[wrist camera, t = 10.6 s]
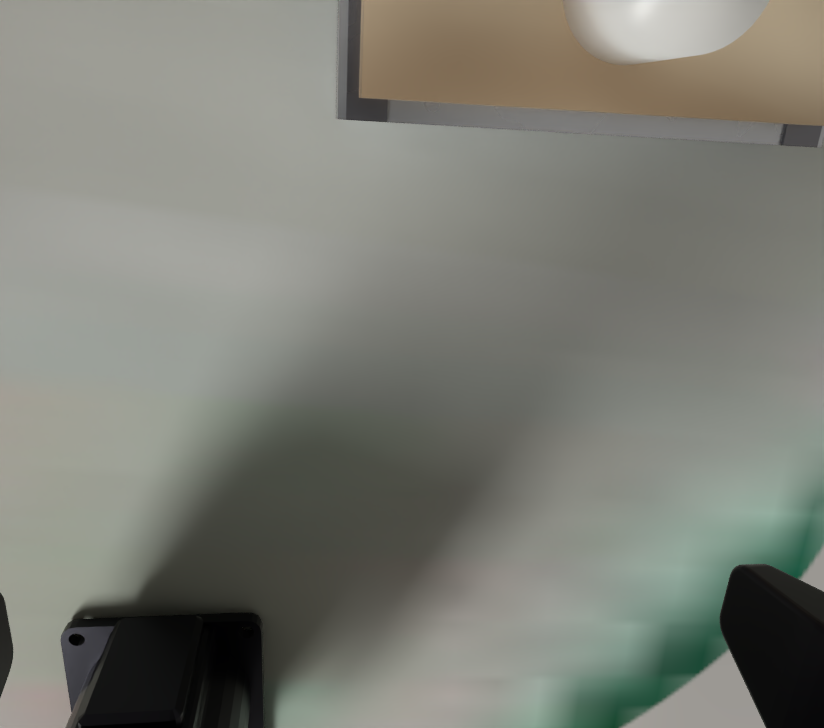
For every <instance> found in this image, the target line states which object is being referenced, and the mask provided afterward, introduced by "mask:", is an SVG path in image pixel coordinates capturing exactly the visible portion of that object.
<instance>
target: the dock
mask: <svg viewBox="0 0 824 728" xmlns="http://www.w3.org/2000/svg"><path fill="white" fill-rule="evenodd" d="M360 35H361V0H338V31H337V89H336V118H337V119H344V120H360V121H377V122H395V123H412V124H429V125H446V126H463V127H480V128H497V129H514V130H531V131H548V132H565V133H582V134H599V135H616V136H633V137H651V138H668V139H685V140H702V141H719V142H736V143H753V144H770V145H786V146H803V147H822V143H823V139H824V126H812V125H796V124H779V123H763V122H747V121H730V120H714V119H698V118H681V117H665V116H649V115H632V114H616V113H600V112H583V111H567V110H551V109H534V108H518V107H502V106H485V105H469V104H453V103H436V102H420V101H404V100H387V99H371V98H359V73H360Z"/></svg>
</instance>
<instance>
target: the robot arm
mask: <svg viewBox="0 0 824 728" xmlns="http://www.w3.org/2000/svg"><path fill="white" fill-rule="evenodd" d="M246 626H247V627H251V628H252V629H251V630H244V629H242V627H246ZM720 627H721V631H722V634H723V637H724V639H725V641H726V643H727V645H728V648H729V650H730V652H731V654H732V656H733V658H734V660H735V662H736V665H737V667H738V669H739V671H740V673H741V675H742V677H743V680H744V682H745V684H746V686H747V688H748V690H749V692H750V695H751V697H752V699H753V701H754V703H755V705H756V707H757V709H758V712H759V714H760V716H761V718H762V720H763V722H764V724H765V726H766V728H824V592H823V591H821V590H819V589H817V588H815V587H813V586H811V585H809V584H807V583H805V582H803V581H801V580H799V579H797V578H795V577H793V576H791V575H789V574H787V573H784V572H782V571H780V570H778V569H776V568H774V567H772V566H770V565H766V564H746V565H738V566H736V567H735V568H734V569H733V570H732V572H731V574H730V578H729V582H728V586H727V589H726V593H725V597H724V601H723V605H722V609H721V613H720ZM74 634H81V635H82V636H84V637H77V636H76V635H74ZM61 646H62V652H63V659H64V665H65V672H66V679H67V685H68V692H69V698H70V705H71V712H72V713H71V716H70V718H69V721H68V723H67V726H66V728H265V716H264V673H263V630H262V621H261V619H260V617H259V616H258V615H256V614H253V613H224V614H199V615H173V616H147V617H121V618H95V619H77V620H73V621H71V622H69V623H68V624H67V626H66V627H65V629H64V631H63V633H62V635H61ZM12 659H13V643H12V638H11V632H10V627H9V621H8V616H7V610H6V605H5V600H4V597H3V596H2V594H1V593H0V697H1V694H2V691H3V689H4V686H5V683H6V680H7V677H8V674H9V672H10V668H11V664H12Z"/></svg>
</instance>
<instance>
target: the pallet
mask: <svg viewBox="0 0 824 728" xmlns="http://www.w3.org/2000/svg"><path fill="white" fill-rule="evenodd" d="M359 98H371V99H387V100H404V101H420V102H436V103H453V104H469V105H485V106H502V107H518V108H534V109H551V110H567V111H583V112H600V113H616V114H632V115H649V116H665V117H681V118H698V119H714V120H730V121H747V122H763V123H779V124H796V125H812V126H824V0H769V2H768V4H767V6H766V8H765V9H764V11H763V12H762V14H761V15H760V16H759V18H758V19H757V20H756V21H755V23H754V24H753V25H752V26H751V27H750V28H749V29H748V30H747V31H746V32H745V33H744V34H743V35H742V36H740V37H739V38H738V39H736V40H735V41H734V42H732V43H730V44H729V45H727V46H725V47H724V48H721V49H719V50H716V51H714V52H711V53H707V54H703V55H697V56H690V57H683V58H676V59H669V60H662V61H655V62H648V63H641V64H633V65H615V64H610V63H607V62H604V61H601V60H600V59H598V58H596V57H594V56H593V55H591V54H590V53H589V52H587V51H586V50H585V49H584V48H583V47H582V46H581V45H580V44H579V42H578V41H577V40H576V38H575V37H574V35H573V33H572V31H571V30H570V27H569V25H568V22H567V20H566V16H565V12H564V7H563V0H361V35H360V73H359Z"/></svg>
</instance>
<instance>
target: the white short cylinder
mask: <svg viewBox="0 0 824 728" xmlns="http://www.w3.org/2000/svg"><path fill="white" fill-rule="evenodd" d="M768 2H769V0H563V7H564V12H565V16H566V20H567V22H568V25H569V27H570V30H571V31H572V33H573V35H574V37H575V38H576V40H577V41H578V42H579V44H580V45H581V46H582V47H583V48H584V49H585V50H586V51H587V52H589V53H590V54H591V55H593V56H594V57H596V58H598V59H600V60H601V61H604V62H607V63H610V64H615V65H633V64H641V63H648V62H655V61H662V60H669V59H676V58H683V57H690V56H697V55H703V54H707V53H711V52H714V51H716V50H719V49H721V48H724V47H725V46H727V45H729V44H730V43H732V42H734V41H735V40H736V39H738V38H739V37H740V36H742V35H743V34H744V33H745V32H746V31H747V30H748V29H749V28H750V27H751V26H752V25H753V24H754V23H755V21H756V20H757V19H758V18H759V16H760V15H761V14H762V12H763V11H764V9H765V8H766V6H767V4H768Z"/></svg>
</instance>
